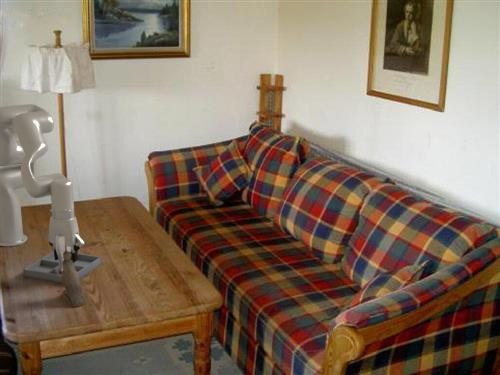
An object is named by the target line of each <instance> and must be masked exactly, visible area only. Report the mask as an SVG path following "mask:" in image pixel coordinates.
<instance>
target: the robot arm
mask: <svg viewBox="0 0 500 375" xmlns="http://www.w3.org/2000/svg"><path fill="white" fill-rule="evenodd" d="M54 123H55V122H54V119H53V117H52V115H51V114H50V113H49V111H48V110H46V109H44V108H42V107H40V106H38V105H37V104H34V103H26V104H17V105H7V106H0V246H1V247H16V246H20V245H22V244H24V243H26V242H27V241H28V236H27V235H26V234H24V231H23V230H24V229H23V218H22V207H21V206H22V205H21V200H20V197H19V196H18V195H17V194H16V193H15V192H14V191H15V190H19V189H24V188H25V189H26V192H27V193H28V195H29V196H30V197H31V198H33V199H39V198H40V199H41V198H45V197H50V202H51V203H50V205H51V208H49V213H51V216H50V218H49V225H48V235H47V236H46V237H45V240H46V241H47V243H49V245H50V247H51V249H52V250H53V251H54V257H55V260H58V256H57V253H56V247H55V244H56V235H58V236H64V237H65V238H64V239H65V245H66V246H69V247H71V251H72V253H71V255H72V256H71V260H72V262H73V263H74V262H76V261H77V260H78V253H79V252H78V251H79V250H80V249H81V248H82V247H83V246H84V245H85V244H86V243H85V241H84V240H83V239H82V238H81V236H80V231H79V230H80V229H79V225H78V220H77V217H76V216H75V202H74V201H75V200H74V187H73V181H72V180H71V179H69V178H67V177H66V176H65V175H64V174H63V173H60V172H58V173H57V172H56V173H50V174H45V175H39V176H37V160H38V159H40V158H42V157H43V156H45V154H46V153H47V152H48V150H49V145H48V144H47V141H46V139H45V137H44V134H49V133H51V132H53V130H54V128H55V124H54ZM73 245H75V248H74V246H73Z"/></svg>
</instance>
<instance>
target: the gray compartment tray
mask: <svg viewBox="0 0 500 375" xmlns="http://www.w3.org/2000/svg"><path fill="white" fill-rule="evenodd" d="M74 265H75V269H76V272H77V275H78V279H79V281H81V279H83V278H85V277H86V276H88V274H90V273H92V272H93V271H94V269H95V270H96V269H97V268H99V267H100V266H101V265H103V257H102V256H97V255H93V254H92V255H91V254H88V253H87V254H85V253H79V252H78V260H77V261H76V262H74ZM58 269H59V260H55V257H54V250H53V251H52V252H50V253H48V254H47V255H45V256H44V257H42V258H40V259H37V261H35V262H33V263H32V264H30V265H28V266H26V267H25V268H23V277H24V278H28V279H35V280H39V281H45V282H51V283H56V284H59V285H60V284H61V285H64V284H63V282H62V276H61V274H59V273H58Z"/></svg>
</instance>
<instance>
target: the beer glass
mask: <svg viewBox="0 0 500 375" xmlns="http://www.w3.org/2000/svg"><path fill="white" fill-rule="evenodd" d="M64 238H65V237H64V236H58V235H56V244H55V247H56V253H57V256H58V260H59V269H58V273H59V274H61V272H62V271H63V260H64V259H63V253H64V252H66V251H68V252H70V253H72V251H71V247H69V246H66V245H65V239H64ZM73 246H74V248H75V245H73ZM70 260H71V258H70ZM73 265H74V263H73ZM74 269H75V265H74Z"/></svg>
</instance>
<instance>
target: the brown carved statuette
mask: <svg viewBox="0 0 500 375" xmlns="http://www.w3.org/2000/svg"><path fill="white" fill-rule="evenodd" d="M71 256H72V255H71V253H70V252H68V251H66V252H64V253H63V259H64V260H63V271H62V272H61V276H62V282H63V284H62V285H63V286H64V290H63V291H62V292H61V296H62V297H63V298H64V299H65V300H66V302H67V303H68V304H69V305H70V306H71V307H72V308H79V307H83V306H86V305H87V303H88V302H87V298H86V297H85V294H84V292H83V289H82V286H81V283H80V280H79V279H78V275H77V272H76V269H74V265H73V262H72V260H70V258H71Z"/></svg>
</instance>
